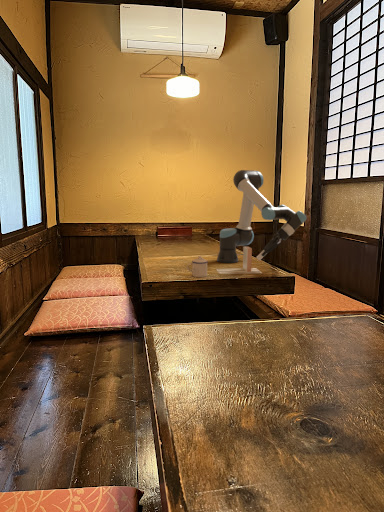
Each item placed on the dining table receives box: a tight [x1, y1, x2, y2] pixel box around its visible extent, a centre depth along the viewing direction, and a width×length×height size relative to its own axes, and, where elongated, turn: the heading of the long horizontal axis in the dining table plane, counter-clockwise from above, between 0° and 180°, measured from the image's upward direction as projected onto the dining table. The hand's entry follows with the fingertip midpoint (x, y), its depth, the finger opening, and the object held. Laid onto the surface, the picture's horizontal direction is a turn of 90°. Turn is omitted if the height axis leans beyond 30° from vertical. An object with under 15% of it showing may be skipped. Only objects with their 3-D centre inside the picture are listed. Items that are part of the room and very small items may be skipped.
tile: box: [242, 246, 253, 271], centre depth 225 cm, size 10×3×14 cm, turn 4°
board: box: [216, 267, 263, 275], centre depth 226 cm, size 20×26×1 cm
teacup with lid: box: [186, 255, 209, 278], centre depth 214 cm, size 12×9×12 cm
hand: (257, 258), depth 226 cm, fingers closed
